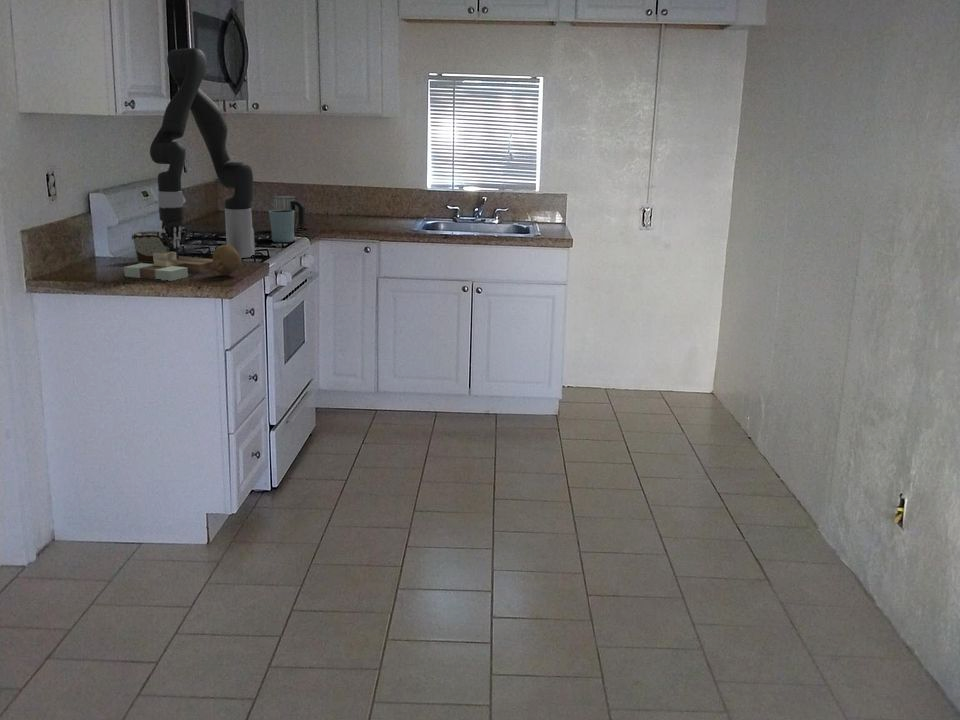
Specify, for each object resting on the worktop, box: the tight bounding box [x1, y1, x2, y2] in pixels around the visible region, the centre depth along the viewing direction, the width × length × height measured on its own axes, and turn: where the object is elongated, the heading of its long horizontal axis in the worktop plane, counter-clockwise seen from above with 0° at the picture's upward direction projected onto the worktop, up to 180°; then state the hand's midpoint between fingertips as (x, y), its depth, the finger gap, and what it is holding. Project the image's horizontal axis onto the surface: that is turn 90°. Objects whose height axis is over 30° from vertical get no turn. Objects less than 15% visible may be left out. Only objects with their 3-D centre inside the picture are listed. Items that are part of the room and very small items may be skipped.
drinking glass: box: [268, 209, 295, 243], centre depth 373 cm, size 10×10×12 cm
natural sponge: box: [212, 244, 243, 277], centre depth 298 cm, size 9×9×10 cm
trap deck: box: [123, 255, 215, 282], centre depth 303 cm, size 25×18×3 cm
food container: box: [131, 230, 167, 264], centre depth 322 cm, size 12×6×10 cm, turn 92°
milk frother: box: [272, 195, 311, 232], centre depth 403 cm, size 14×16×15 cm
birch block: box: [153, 250, 177, 267], centre depth 298 cm, size 5×5×4 cm
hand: (174, 259), depth 302 cm, fingers closed
